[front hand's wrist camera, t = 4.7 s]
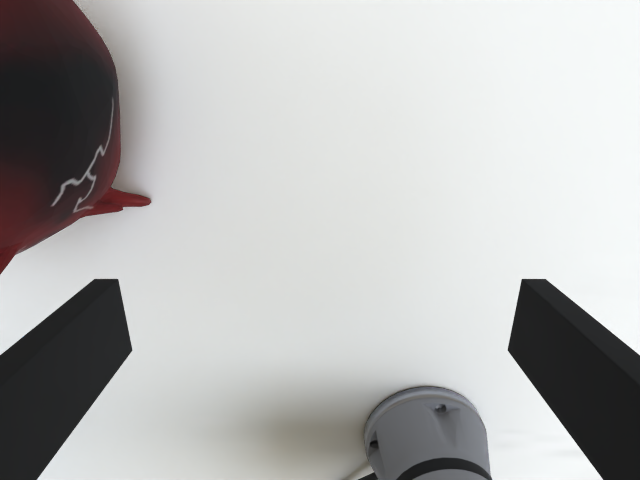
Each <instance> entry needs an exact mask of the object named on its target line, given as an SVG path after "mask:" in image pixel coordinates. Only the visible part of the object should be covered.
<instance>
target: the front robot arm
mask: <svg viewBox="0 0 640 480" xmlns="http://www.w3.org/2000/svg"><path fill="white" fill-rule="evenodd" d="M131 351H132V346H131V341H130V336H129V331H128V326H127V321H126V316H125V311H124V306H123V301H122V296H121V291H120V286H119V281H118V279H94V280H93V281H92V282H90V283H89V284H88V285H87V286H85V287H84V288H83V289H82V290H80V291H79V292H78V293H77V294H76V295H74V296H73V297H72V298H71V299H69V300H68V301H67V302H66V303H64V304H63V305H62V306H61V307H59V308H58V309H57V310H56V311H55V312H53V313H52V314H51V315H50V316H48V317H47V318H46V319H45V320H43V321H42V322H41V323H40V324H38V325H37V326H36V327H35V328H34V329H32V330H31V331H30V332H29V333H27V334H26V335H25V336H24V337H22V338H21V339H20V340H19V341H17V342H16V343H15V344H14V345H13V346H11V347H10V348H9V349H8V350H6V351H5V352H4V353H3V354H1V355H0V480H37V478H38V477H39V476H40V474H41V473H42V472H43V470H44V469H45V468H46V466H47V465H48V464H49V462H50V461H51V460H52V458H53V457H54V456H55V454H56V453H57V451H58V450H59V449H60V447H61V446H62V445H63V443H64V442H65V441H66V439H67V438H68V437H69V435H70V434H71V433H72V431H73V430H74V428H75V427H76V426H77V424H78V423H79V422H80V420H81V419H82V418H83V416H84V415H85V414H86V412H87V411H88V410H89V408H90V407H91V405H92V404H93V403H94V401H95V400H96V399H97V397H98V396H99V395H100V393H101V392H102V391H103V389H104V388H105V387H106V385H107V384H108V383H109V381H110V380H111V378H112V377H113V376H114V374H115V373H116V372H117V370H118V369H119V368H120V366H121V365H122V364H123V362H124V361H125V360H126V358H127V357H128V355H129V354H130V353H131ZM508 351H509V353H510V354H511V355H512V357H513V358H514V360H515V361H516V362H517V364H518V365H519V366H520V368H521V369H522V370H523V372H524V373H525V374H526V376H527V377H528V378H529V380H530V381H531V383H532V384H533V385H534V387H535V388H536V389H537V391H538V392H539V393H540V395H541V396H542V397H543V399H544V400H545V401H546V403H547V404H548V405H549V407H550V408H551V410H552V411H553V412H554V414H555V415H556V416H557V418H558V419H559V420H560V422H561V423H562V424H563V426H564V427H565V428H566V430H567V431H568V433H569V434H570V435H571V437H572V438H573V439H574V441H575V442H576V443H577V445H578V446H579V447H580V449H581V450H582V451H583V453H584V454H585V456H586V457H587V458H588V460H589V461H590V462H591V464H592V465H593V466H594V468H595V469H596V470H597V472H598V473H599V474H600V476H601V477H602V478H603V480H640V355H639V354H637V353H636V352H635V351H634V350H632V349H631V348H630V347H629V346H627V345H626V344H625V343H624V342H623V341H621V340H620V339H619V338H618V337H616V336H615V335H614V334H613V333H611V332H610V331H609V330H608V329H606V328H605V327H604V326H603V325H602V324H600V323H599V322H598V321H597V320H595V319H594V318H593V317H592V316H590V315H589V314H588V313H587V312H585V311H584V310H583V309H582V308H581V307H579V306H578V305H577V304H576V303H574V302H573V301H572V300H571V299H569V298H568V297H567V296H566V295H564V294H563V293H562V292H561V291H560V290H558V289H557V288H556V287H555V286H553V285H552V284H551V283H550V282H548V281H547V280H546V279H522V281H521V286H520V291H519V296H518V301H517V306H516V311H515V316H514V321H513V326H512V331H511V336H510V341H509V346H508ZM364 440H365V448H366V454H367V458H368V460H369V462H370V464H371V466H372V468H373V470H374V473H372V474H369V475H367V476H365V477H363V478H361V479H358V480H492V478H491V475H490V464H489V454H488V444H487V433H486V429H485V426H484V424H483V422H482V420H481V418H480V416H479V414H478V412H477V410H476V408H475V407H474V406H473V405H472V403H471V402H469V401H468V400H467V399H466V398H465V397H463V396H461V395H460V394H458V393H456V392H453V391H450V390H447V389H443V388H437V387H419V388H413V389H409V390H405V391H402V392H400V393H397V394H395V395H393V396H391V397H389V398H388V399H386V400H385V401H383V402H382V403H381V404H380V405H379V406H378V407H377V408H376V409H375V410H374V411H373V412H372V414H371V415H370V417H369V419H368V421H367V423H366V427H365V431H364Z"/></svg>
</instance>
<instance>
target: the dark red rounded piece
mask: <svg viewBox="0 0 640 480" xmlns="http://www.w3.org/2000/svg"><path fill="white" fill-rule="evenodd" d="M120 153H121V142H120V111H119V94H118V81H117V74H116V69H115V65H114V63H113V60H112V58H111V55H110V53H109V50H108V48H107V47H106V45H105V43H104V42H103V40H102V38H101V37H100V35H99V34H98V32H97V31H96V30H95V28H94V27H93V25H92V24H91V23H90V21H89V20H88V19H87V17H86V16H85V15H84V14H83V12H82V11H81V10H80V9H79V7H78V6H77V5H76V4H75V3H74V1H73V0H0V274H1V273H2V272H3V270H4V269H5V268H6V266H7V265H8V264H9V262H10V261H11V260H12V258H13V257H14V256H15V255H16V254H18V253H20V252H22V251H24V250H26V249H28V248H30V247H32V246H34V245H36V244H38V243H40V242H41V241H43V240H45V239H47V238H48V237H50V236H52V235H54V234H55V233H57V232H59V231H60V230H62V229H64V228H66V227H67V226H69V225H71V224H72V223H74V222H75V221H77V220H78V219H79V218H82V217H85V216H90V215H97V214H104V213H112V212H118V211H121V210H123V207H142V206H146V205H149V204H150V203H151V201H150V199H149V198H147V197H144V196H140V195H136V194H131V193H126V192H122V191H119V190H116V189H113V188H111V184H112V182H113V180H114V178H115V176H116V173H117V170H118V166H119V163H120Z"/></svg>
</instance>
